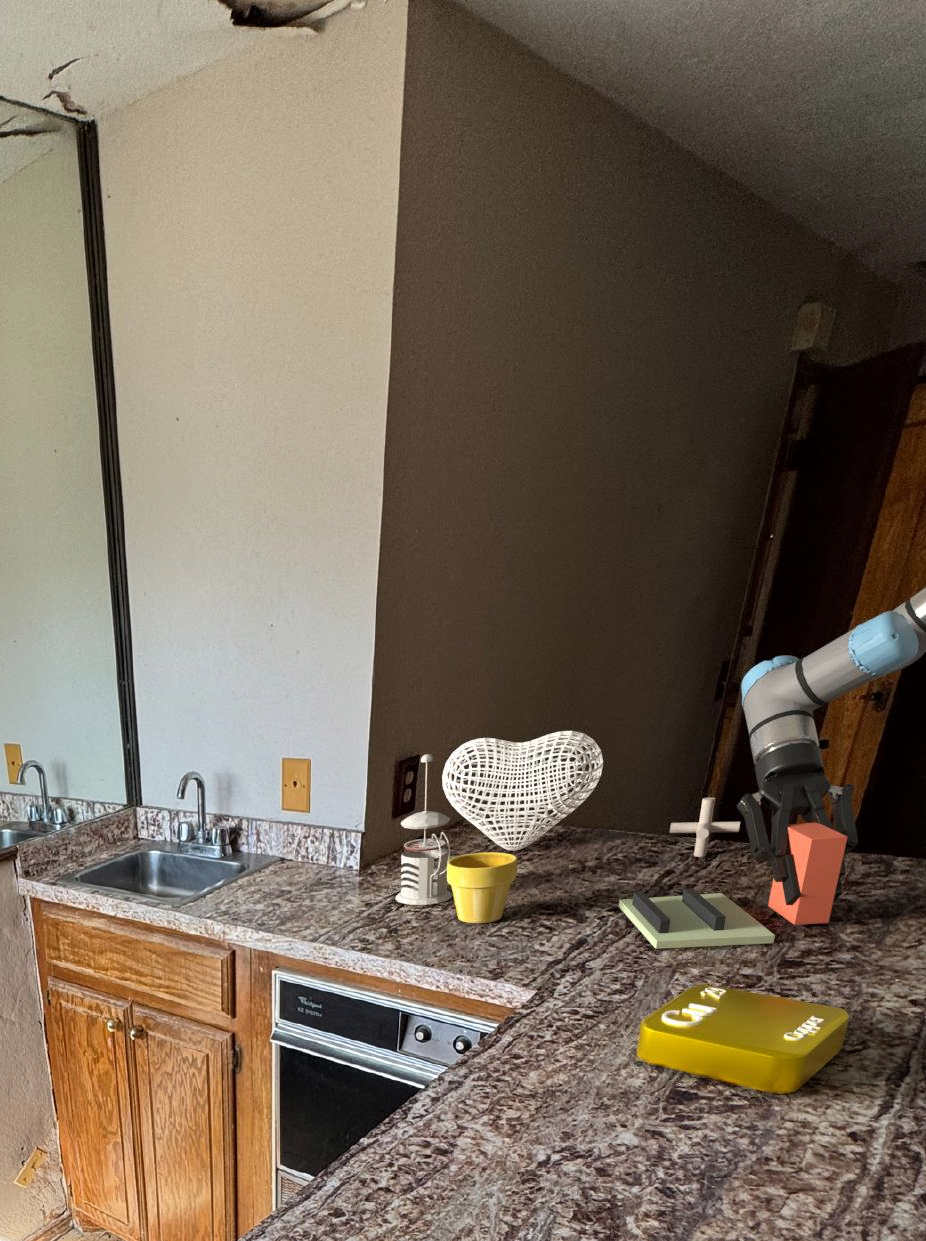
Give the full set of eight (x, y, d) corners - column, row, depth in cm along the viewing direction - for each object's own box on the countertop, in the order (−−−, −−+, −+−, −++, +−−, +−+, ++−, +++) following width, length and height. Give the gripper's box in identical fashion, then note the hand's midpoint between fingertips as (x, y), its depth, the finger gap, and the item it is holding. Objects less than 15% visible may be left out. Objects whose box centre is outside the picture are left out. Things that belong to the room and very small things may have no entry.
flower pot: (448, 908, 153) (450, 852, 149) (515, 907, 148) (519, 849, 144) (442, 927, 145) (444, 869, 141) (512, 927, 140) (516, 867, 136)
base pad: (720, 900, 137) (724, 880, 136) (773, 943, 120) (778, 921, 119) (618, 906, 141) (620, 887, 140) (655, 949, 124) (658, 927, 123)
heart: (594, 838, 177) (606, 721, 168) (593, 858, 166) (607, 734, 156) (445, 843, 191) (448, 735, 181) (434, 862, 179) (438, 748, 169)
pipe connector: (664, 862, 157) (672, 805, 153) (669, 848, 164) (676, 793, 160) (733, 862, 151) (743, 803, 147) (735, 847, 158) (745, 791, 154)
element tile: (789, 1099, 87) (799, 1056, 85) (628, 1059, 99) (633, 1020, 96) (847, 1046, 94) (858, 1005, 92) (690, 1014, 106) (696, 977, 104)
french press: (434, 885, 165) (438, 746, 155) (469, 900, 155) (476, 752, 144) (385, 895, 165) (385, 756, 154) (417, 910, 154) (420, 763, 143)
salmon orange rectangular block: (800, 904, 130) (817, 821, 124) (828, 923, 122) (848, 836, 117) (767, 906, 131) (783, 824, 126) (794, 925, 123) (811, 839, 118)
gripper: (844, 765, 129) (875, 907, 122) (708, 779, 135) (731, 916, 128) (871, 731, 123) (905, 880, 116) (727, 747, 128) (751, 890, 121)
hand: (814, 898), depth 122 cm, fingers closed on salmon orange rectangular block, 4 cm apart
